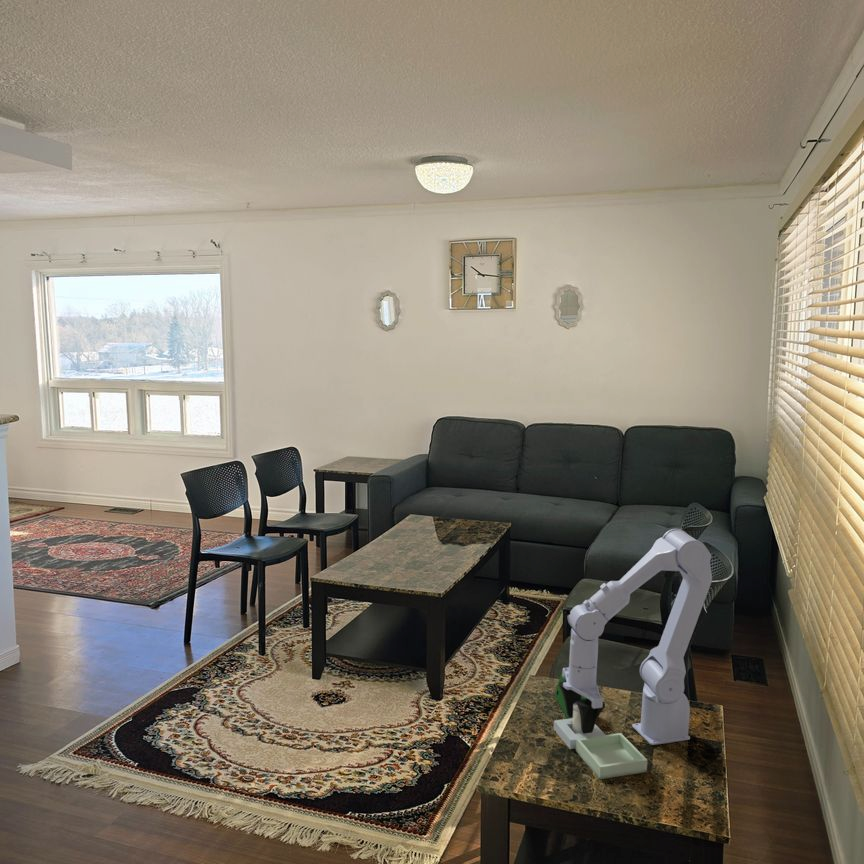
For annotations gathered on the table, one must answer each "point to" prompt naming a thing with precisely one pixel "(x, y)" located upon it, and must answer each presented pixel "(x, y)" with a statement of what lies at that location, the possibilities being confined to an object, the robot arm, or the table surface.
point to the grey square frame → (568, 735)
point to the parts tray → (611, 756)
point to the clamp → (560, 696)
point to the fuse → (576, 720)
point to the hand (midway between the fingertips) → (579, 723)
